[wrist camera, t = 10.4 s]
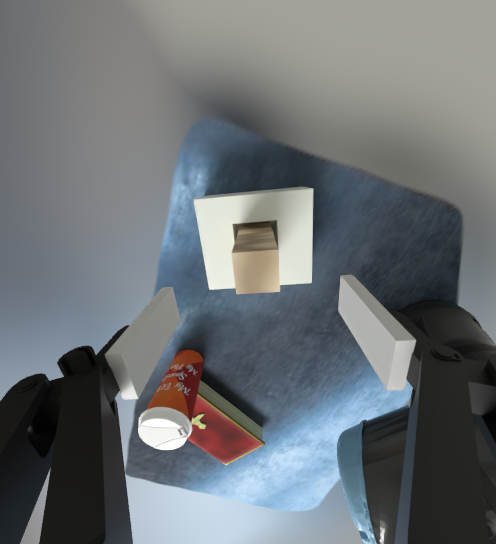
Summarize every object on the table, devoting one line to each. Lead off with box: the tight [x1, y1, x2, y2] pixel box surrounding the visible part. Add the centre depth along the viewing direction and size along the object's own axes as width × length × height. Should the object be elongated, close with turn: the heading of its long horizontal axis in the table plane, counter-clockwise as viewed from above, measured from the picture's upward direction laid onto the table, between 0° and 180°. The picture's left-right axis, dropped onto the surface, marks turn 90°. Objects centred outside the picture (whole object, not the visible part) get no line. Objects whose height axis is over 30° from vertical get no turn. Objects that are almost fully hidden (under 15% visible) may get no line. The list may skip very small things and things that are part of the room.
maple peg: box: [231, 221, 280, 294], centre depth 27 cm, size 4×4×14 cm
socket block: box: [194, 186, 313, 290], centre depth 32 cm, size 14×12×6 cm
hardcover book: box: [187, 380, 265, 465], centre depth 49 cm, size 12×21×4 cm, turn 42°
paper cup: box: [138, 349, 203, 450], centre depth 38 cm, size 8×8×14 cm
